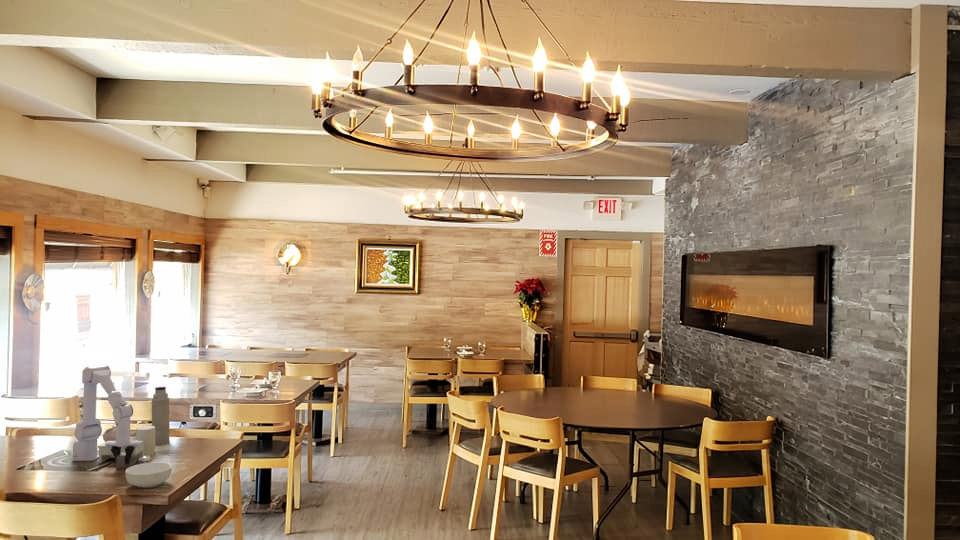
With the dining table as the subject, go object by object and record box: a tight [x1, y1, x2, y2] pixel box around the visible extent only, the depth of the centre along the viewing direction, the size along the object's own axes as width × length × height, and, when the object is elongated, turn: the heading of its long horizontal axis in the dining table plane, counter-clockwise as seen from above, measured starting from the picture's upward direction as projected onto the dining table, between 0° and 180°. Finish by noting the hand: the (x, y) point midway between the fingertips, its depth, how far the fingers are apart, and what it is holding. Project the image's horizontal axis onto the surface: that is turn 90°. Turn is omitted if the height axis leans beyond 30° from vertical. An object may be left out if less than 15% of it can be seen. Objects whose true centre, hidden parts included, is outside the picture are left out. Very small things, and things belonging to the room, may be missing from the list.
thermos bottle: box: [151, 386, 170, 446], centre depth 352 cm, size 8×8×28 cm
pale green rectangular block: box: [97, 440, 145, 464], centre depth 322 cm, size 17×10×8 cm, turn 93°
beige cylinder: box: [135, 425, 156, 455], centre depth 334 cm, size 8×8×12 cm
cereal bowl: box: [124, 461, 173, 488], centre depth 286 cm, size 17×17×7 cm
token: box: [137, 454, 151, 464], centre depth 320 cm, size 5×5×2 cm
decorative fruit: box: [102, 426, 116, 443], centre depth 346 cm, size 9×8×10 cm
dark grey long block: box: [116, 453, 138, 470], centre depth 315 cm, size 4×16×6 cm, turn 3°
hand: (123, 463), depth 310 cm, fingers closed on dark grey long block, 3 cm apart
